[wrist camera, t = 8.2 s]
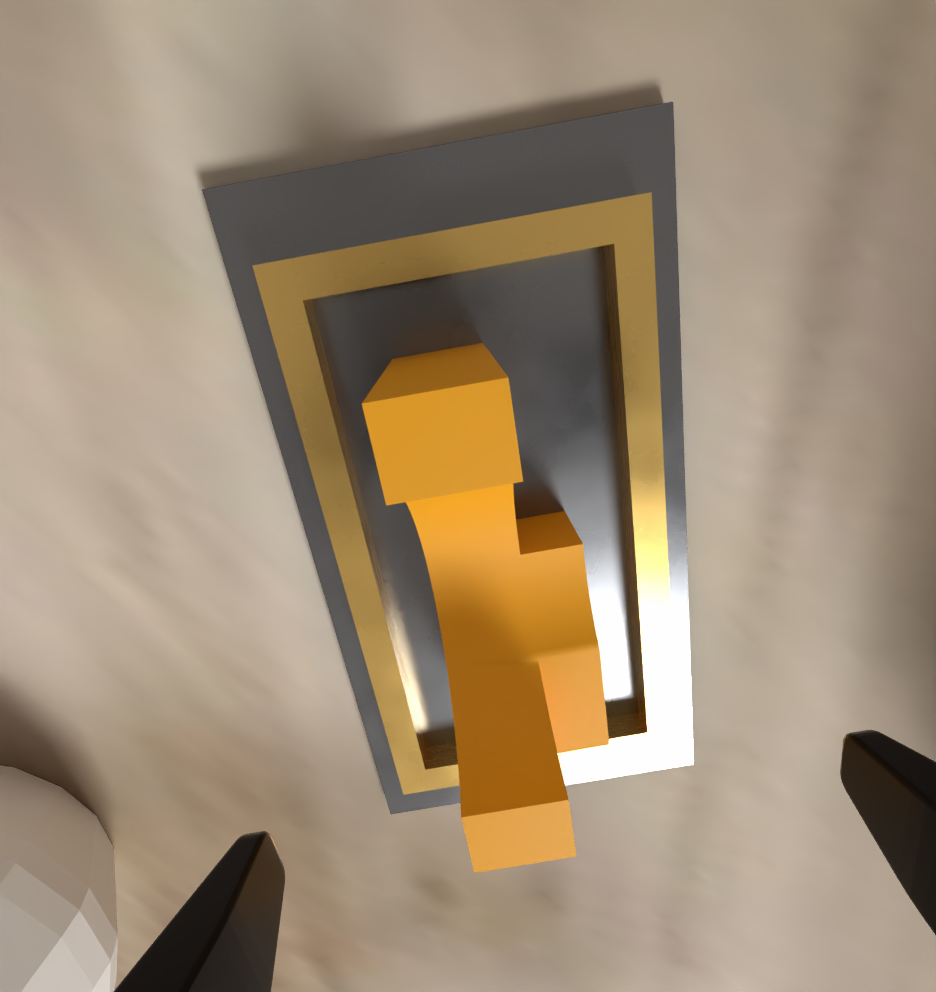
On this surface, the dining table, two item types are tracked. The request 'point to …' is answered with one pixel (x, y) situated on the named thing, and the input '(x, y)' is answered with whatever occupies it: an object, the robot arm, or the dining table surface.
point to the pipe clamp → (494, 600)
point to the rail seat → (534, 392)
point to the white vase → (54, 891)
